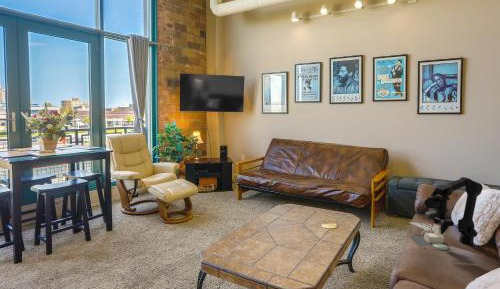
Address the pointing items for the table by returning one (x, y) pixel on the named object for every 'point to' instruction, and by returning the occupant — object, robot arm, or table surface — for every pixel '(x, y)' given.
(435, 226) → the cream block
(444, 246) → the coaster
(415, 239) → the mat
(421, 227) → the crown molding
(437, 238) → the cream labeled box
